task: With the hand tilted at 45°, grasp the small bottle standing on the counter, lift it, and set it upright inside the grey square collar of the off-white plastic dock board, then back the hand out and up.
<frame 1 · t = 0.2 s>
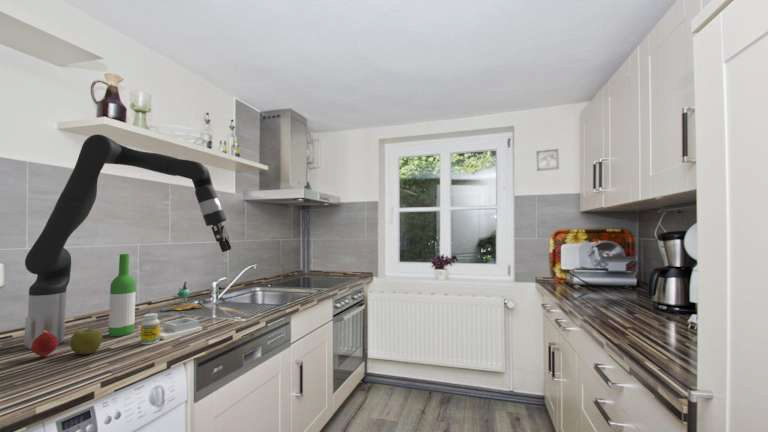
hand: (227, 250, 135), 31 cm above the worktop, fingers open, 8 cm apart
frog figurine: (186, 309, 171), on the worktop
end holder: (175, 332, 131), on the worktop
wine bottle: (121, 334, 129), on the worktop
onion: (44, 357, 105), on the worktop
supplement bottle: (150, 342, 119), on the worktop
apple: (86, 354, 108), on the worktop
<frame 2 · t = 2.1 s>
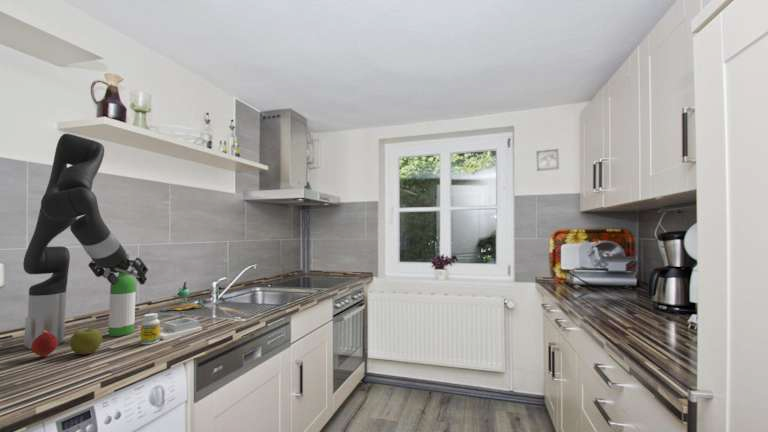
hand: (129, 282, 108), 22 cm above the worktop, fingers open, 8 cm apart
nothing on the worktop moved.
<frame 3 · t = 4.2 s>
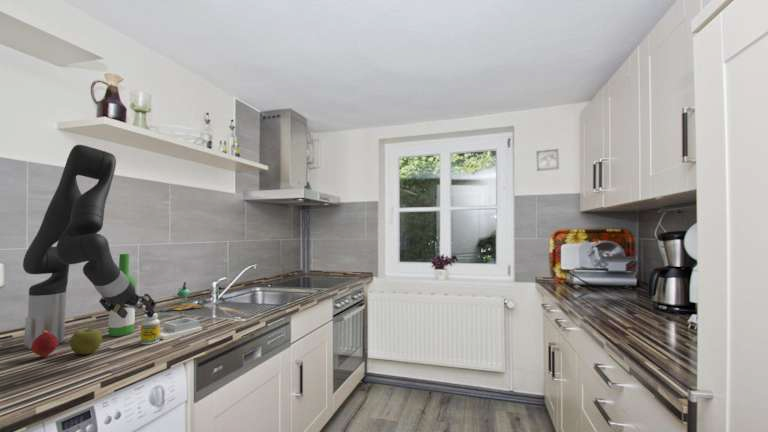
hand: (138, 315, 113), 11 cm above the worktop, fingers open, 8 cm apart
nothing on the worktop moved.
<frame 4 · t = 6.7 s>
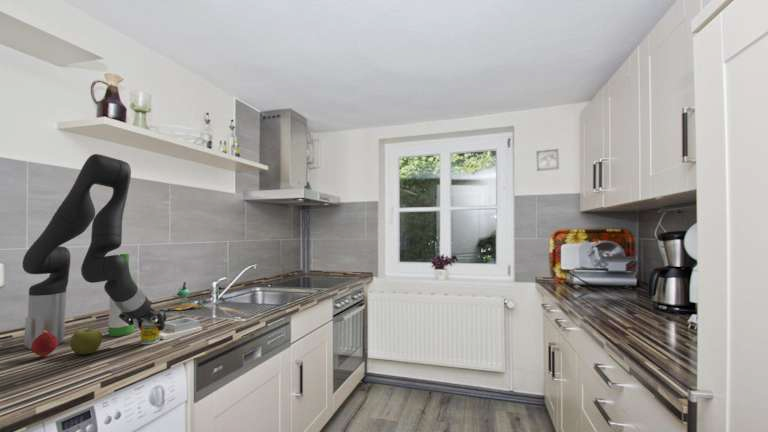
hand: (153, 328, 121), 4 cm above the worktop, fingers closed on supplement bottle, 5 cm apart
supplement bottle: (150, 342, 119), on the worktop, touching gripper
everything else where it was.
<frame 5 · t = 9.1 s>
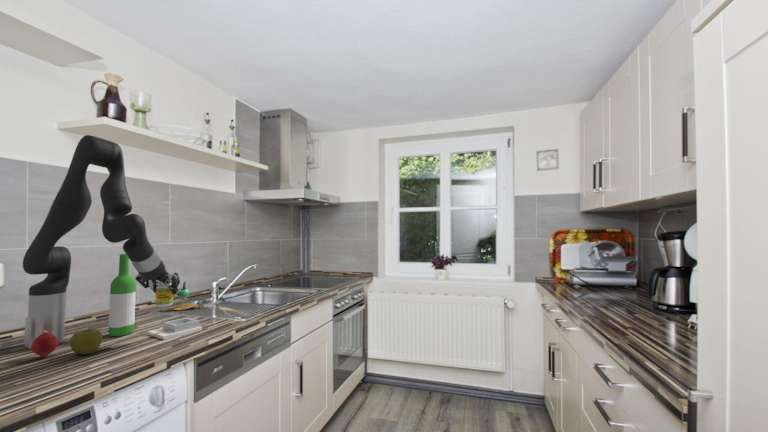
hand: (167, 292, 127), 16 cm above the worktop, fingers closed on supplement bottle, 5 cm apart
supplement bottle: (164, 305, 125), point 11 cm above the worktop, touching gripper
everything else where it was.
when the fingers open (7 cm above the worktop, at t = 11.9 s): supplement bottle drops 2 cm, resting on end holder.
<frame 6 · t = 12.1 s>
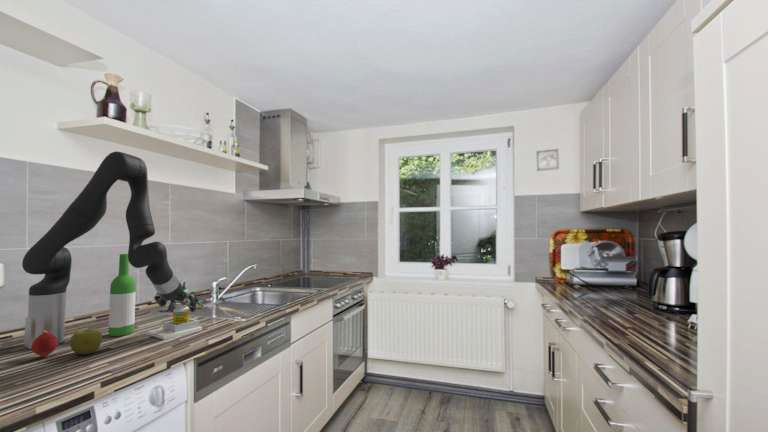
hand: (183, 310, 134), 8 cm above the worktop, fingers open, 7 cm apart
supplement bottle: (180, 328, 132), point 1 cm above the worktop, touching end holder
everything else where it was.
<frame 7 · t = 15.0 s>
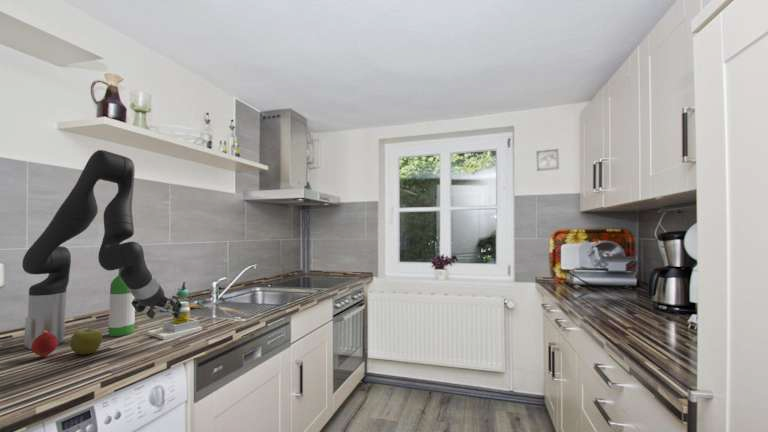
hand: (165, 316, 122), 8 cm above the worktop, fingers open, 8 cm apart
nothing on the worktop moved.
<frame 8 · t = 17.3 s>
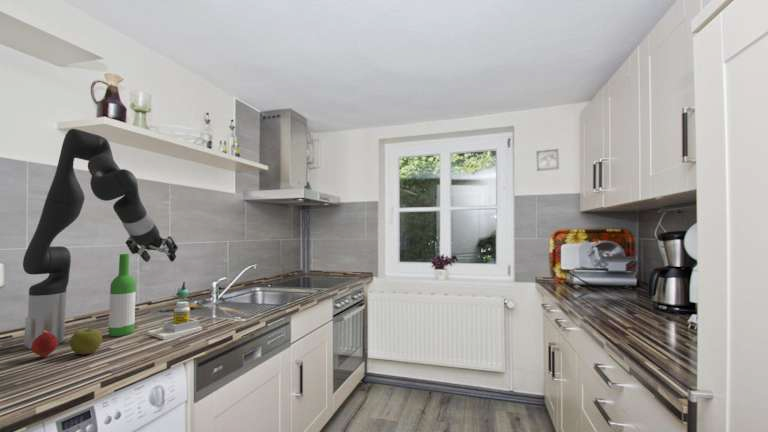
hand: (160, 259, 119), 29 cm above the worktop, fingers open, 8 cm apart
nothing on the worktop moved.
at the end: supplement bottle 0.2 cm from the target spot on the end holder, point 1.2 cm above the end holder's base; supplement bottle tilted 3°; the gripper is holding nothing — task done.
